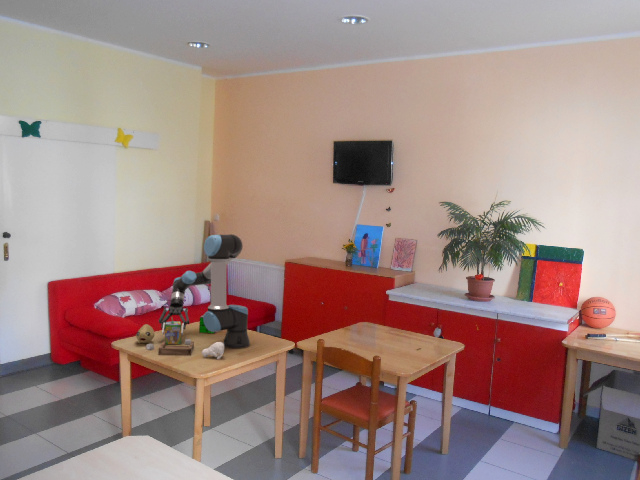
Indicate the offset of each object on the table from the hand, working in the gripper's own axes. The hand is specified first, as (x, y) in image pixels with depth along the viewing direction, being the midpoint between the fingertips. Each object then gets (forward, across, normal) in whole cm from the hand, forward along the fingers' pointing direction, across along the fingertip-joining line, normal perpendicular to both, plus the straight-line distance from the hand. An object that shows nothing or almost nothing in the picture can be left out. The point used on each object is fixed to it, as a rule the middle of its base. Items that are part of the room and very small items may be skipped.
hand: (172, 333), depth 304 cm
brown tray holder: (+14, -4, +5) cm, 15 cm away
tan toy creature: (+4, +15, -5) cm, 17 cm away
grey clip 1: (+12, +10, +3) cm, 16 cm away
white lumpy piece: (+21, -25, +12) cm, 35 cm away
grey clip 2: (+4, -9, -4) cm, 11 cm away
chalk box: (+2, 0, -6) cm, 7 cm away
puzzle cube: (-16, -19, -25) cm, 35 cm away
